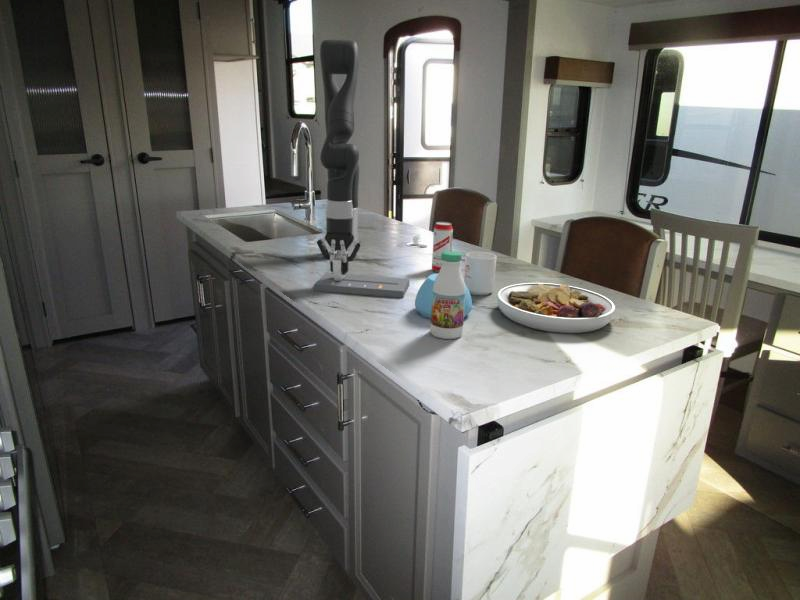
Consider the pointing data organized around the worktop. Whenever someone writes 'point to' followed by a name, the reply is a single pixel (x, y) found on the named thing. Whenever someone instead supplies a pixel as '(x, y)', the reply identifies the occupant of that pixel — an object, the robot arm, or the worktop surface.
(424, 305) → the sugar bowl
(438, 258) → the beer can
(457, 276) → the milk bottle
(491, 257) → the mug
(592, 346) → the worktop surface
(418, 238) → the teacup and saucer
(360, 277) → the slider console
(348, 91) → the robot arm
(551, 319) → the bowl
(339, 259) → the fader tab
